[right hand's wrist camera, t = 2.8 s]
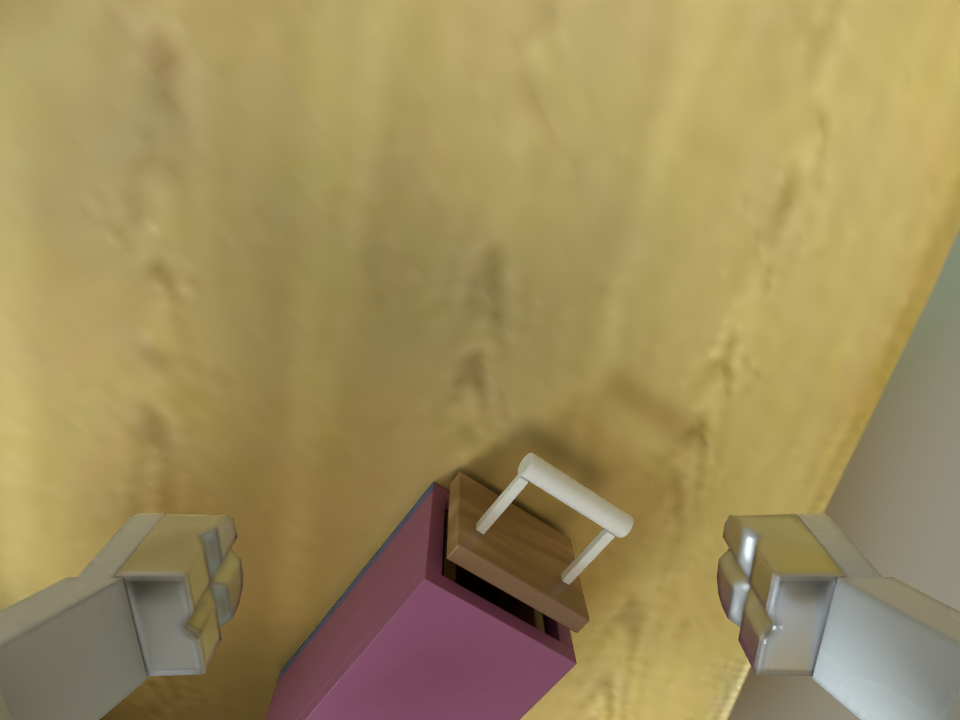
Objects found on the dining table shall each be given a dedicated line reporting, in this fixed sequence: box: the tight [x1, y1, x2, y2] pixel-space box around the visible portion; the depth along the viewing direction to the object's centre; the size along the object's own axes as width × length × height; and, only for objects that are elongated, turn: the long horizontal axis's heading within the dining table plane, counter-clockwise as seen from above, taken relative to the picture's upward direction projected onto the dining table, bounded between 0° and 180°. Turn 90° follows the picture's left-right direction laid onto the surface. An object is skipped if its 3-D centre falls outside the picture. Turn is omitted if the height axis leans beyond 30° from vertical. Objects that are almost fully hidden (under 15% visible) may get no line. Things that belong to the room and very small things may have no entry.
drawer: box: [441, 453, 633, 633], centre depth 41 cm, size 25×9×7 cm, turn 144°
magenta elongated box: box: [265, 482, 576, 720], centre depth 42 cm, size 21×10×10 cm, turn 144°
